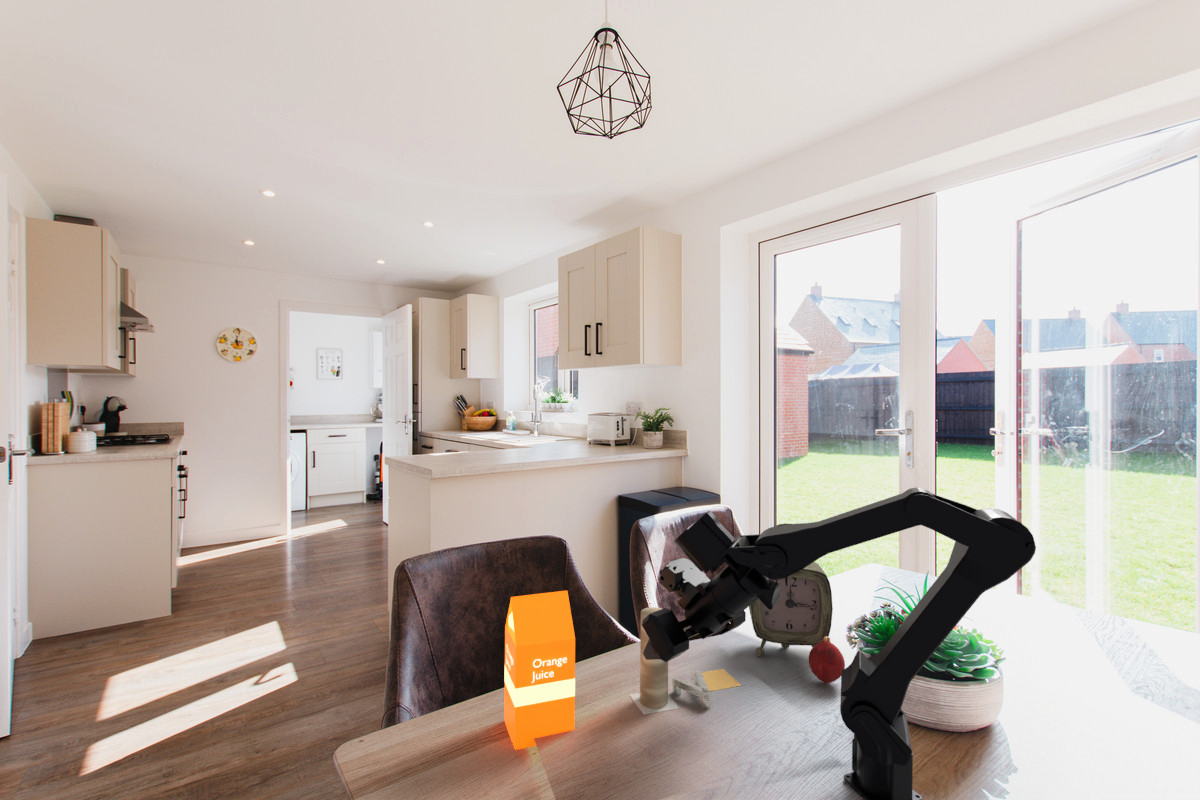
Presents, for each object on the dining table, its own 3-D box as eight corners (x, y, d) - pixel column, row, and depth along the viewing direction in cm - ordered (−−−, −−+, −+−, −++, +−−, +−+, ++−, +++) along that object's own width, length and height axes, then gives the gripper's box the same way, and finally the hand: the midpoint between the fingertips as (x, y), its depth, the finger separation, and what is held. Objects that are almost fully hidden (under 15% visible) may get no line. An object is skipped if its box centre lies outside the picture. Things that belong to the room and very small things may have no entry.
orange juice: (503, 720, 85) (504, 588, 85) (559, 709, 88) (561, 582, 88) (514, 751, 78) (515, 606, 78) (575, 738, 81) (576, 599, 81)
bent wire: (723, 707, 88) (723, 690, 88) (689, 713, 86) (689, 697, 86) (700, 683, 95) (700, 669, 95) (668, 689, 93) (668, 674, 93)
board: (773, 717, 87) (773, 710, 87) (654, 741, 80) (654, 733, 80) (725, 674, 100) (725, 668, 100) (619, 692, 93) (619, 685, 93)
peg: (672, 706, 88) (673, 616, 87) (646, 710, 86) (647, 619, 86) (660, 691, 92) (661, 606, 92) (635, 696, 90) (636, 609, 90)
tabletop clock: (750, 660, 106) (751, 526, 105) (746, 639, 114) (747, 516, 114) (831, 667, 103) (833, 530, 103) (821, 645, 112) (823, 520, 112)
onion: (847, 694, 94) (848, 646, 94) (811, 690, 95) (811, 642, 95) (840, 677, 99) (840, 631, 99) (805, 673, 100) (806, 628, 100)
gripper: (730, 535, 90) (674, 587, 98) (653, 558, 77) (596, 615, 85) (774, 598, 84) (711, 647, 92) (699, 634, 71) (634, 687, 79)
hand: (664, 646), depth 87 cm, fingers open, 9 cm apart
